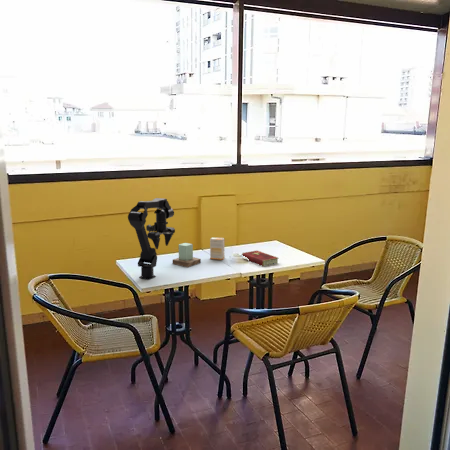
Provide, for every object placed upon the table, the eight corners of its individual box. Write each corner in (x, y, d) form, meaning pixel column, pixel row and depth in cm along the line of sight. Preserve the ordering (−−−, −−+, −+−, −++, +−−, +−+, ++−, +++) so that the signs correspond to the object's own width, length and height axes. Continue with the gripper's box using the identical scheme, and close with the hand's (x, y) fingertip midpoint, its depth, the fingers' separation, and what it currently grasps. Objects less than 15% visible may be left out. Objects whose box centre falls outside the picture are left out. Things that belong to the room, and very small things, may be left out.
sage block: (186, 260, 272) (186, 246, 270) (178, 259, 276) (178, 244, 274) (192, 258, 277) (192, 244, 275) (185, 257, 280) (185, 242, 279)
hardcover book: (262, 267, 271) (263, 260, 270) (241, 259, 288) (242, 252, 287) (278, 264, 277) (278, 257, 277) (257, 256, 294) (257, 250, 294)
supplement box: (224, 258, 288) (224, 237, 285) (222, 260, 283) (222, 239, 281) (212, 257, 290) (212, 236, 287) (209, 259, 285) (209, 238, 283)
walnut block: (188, 268, 268) (188, 263, 268) (172, 264, 275) (172, 259, 274) (200, 263, 278) (200, 258, 277) (185, 260, 284) (185, 255, 284)
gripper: (159, 216, 269) (160, 242, 272) (139, 221, 253) (140, 249, 256) (175, 218, 264) (175, 244, 267) (155, 223, 248) (156, 251, 251)
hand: (161, 247), depth 261 cm, fingers open, 9 cm apart
